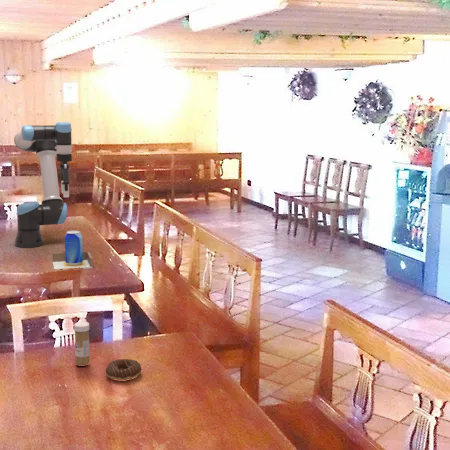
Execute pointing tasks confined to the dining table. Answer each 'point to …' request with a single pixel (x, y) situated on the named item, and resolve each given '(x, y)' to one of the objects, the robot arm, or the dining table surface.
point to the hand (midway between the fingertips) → (65, 195)
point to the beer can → (73, 248)
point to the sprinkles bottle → (81, 343)
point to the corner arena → (60, 263)
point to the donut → (123, 369)
